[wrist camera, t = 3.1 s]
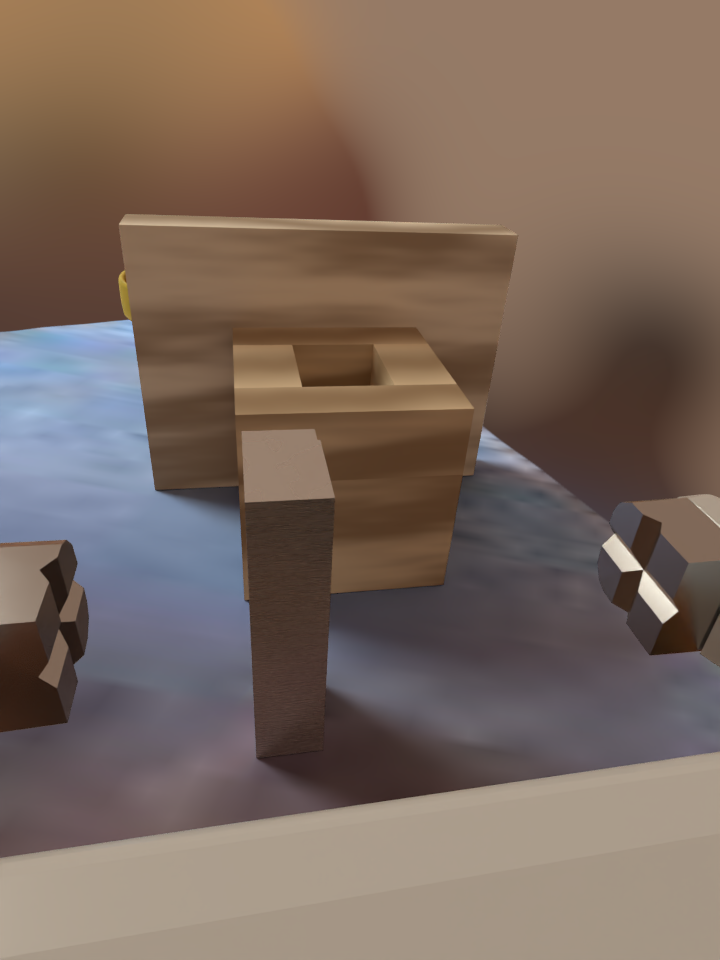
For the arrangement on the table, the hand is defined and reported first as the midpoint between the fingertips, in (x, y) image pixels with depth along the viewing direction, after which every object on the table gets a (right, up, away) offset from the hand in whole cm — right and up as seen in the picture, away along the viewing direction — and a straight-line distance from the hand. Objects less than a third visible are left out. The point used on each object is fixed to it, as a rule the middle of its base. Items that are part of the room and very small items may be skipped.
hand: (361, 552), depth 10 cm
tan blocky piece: (-2, -1, +34) cm, 35 cm away
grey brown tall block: (-4, -10, +21) cm, 23 cm away
